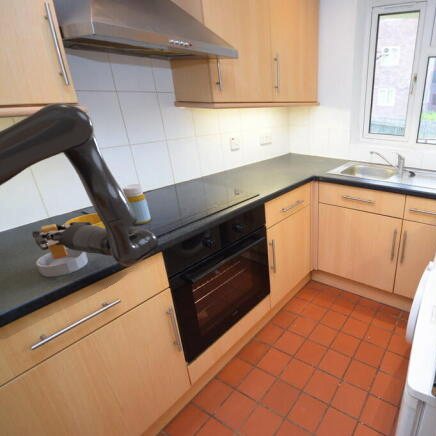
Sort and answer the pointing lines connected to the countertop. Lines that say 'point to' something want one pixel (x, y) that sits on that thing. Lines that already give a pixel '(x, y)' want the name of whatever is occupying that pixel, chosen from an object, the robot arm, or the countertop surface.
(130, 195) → the bottle
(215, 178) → the countertop surface
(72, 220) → the yellow bowl
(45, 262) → the gray bowl
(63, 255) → the supplement box
